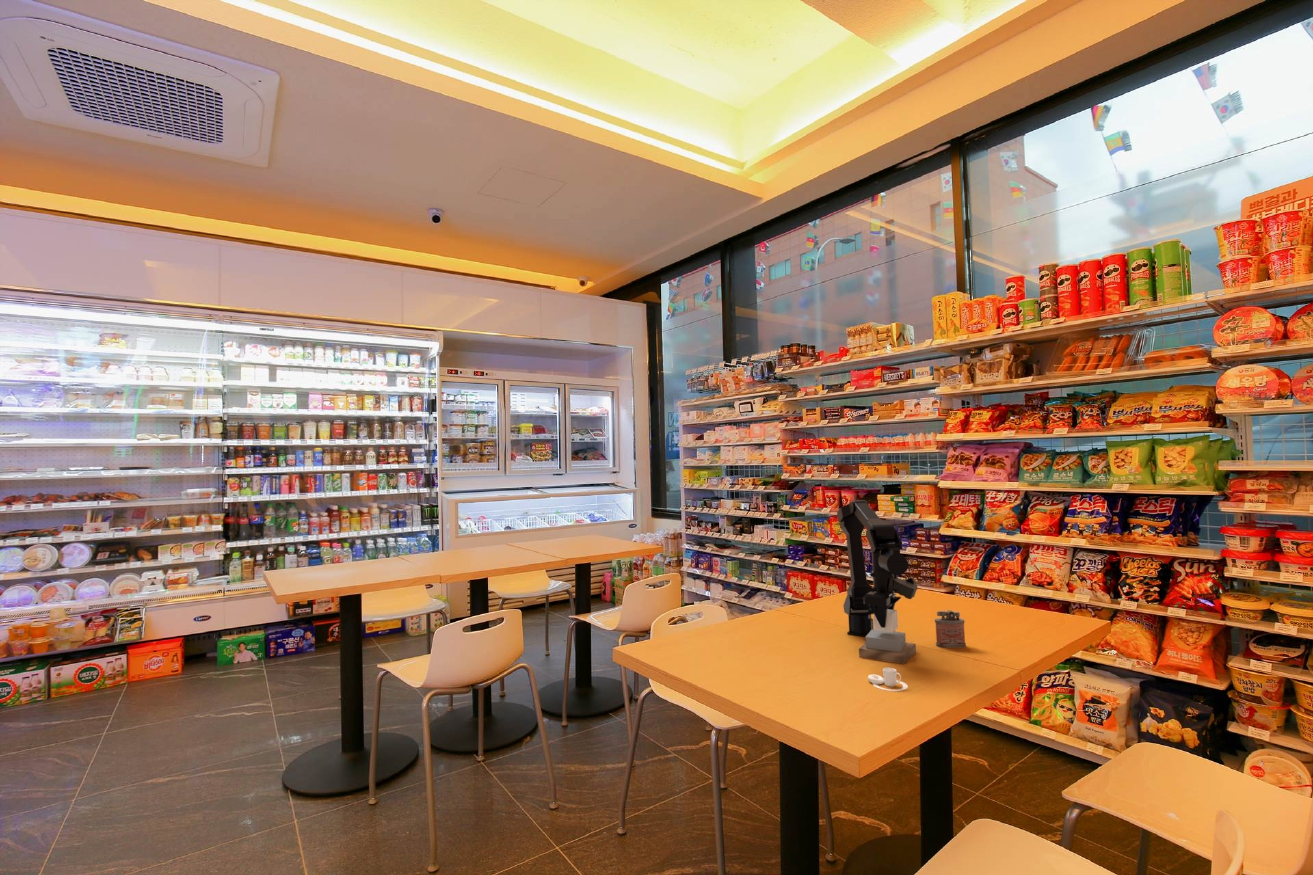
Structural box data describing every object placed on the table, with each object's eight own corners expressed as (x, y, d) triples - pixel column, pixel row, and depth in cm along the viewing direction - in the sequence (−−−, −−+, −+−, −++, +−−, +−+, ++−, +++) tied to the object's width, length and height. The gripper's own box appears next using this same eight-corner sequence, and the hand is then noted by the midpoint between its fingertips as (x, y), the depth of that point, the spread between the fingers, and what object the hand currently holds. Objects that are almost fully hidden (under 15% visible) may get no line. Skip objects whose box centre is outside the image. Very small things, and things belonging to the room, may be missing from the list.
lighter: (963, 643, 178) (961, 609, 179) (967, 647, 175) (965, 611, 175) (934, 644, 179) (932, 609, 179) (938, 647, 176) (936, 612, 176)
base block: (859, 659, 169) (858, 648, 170) (872, 648, 179) (872, 637, 179) (904, 666, 162) (904, 655, 163) (916, 654, 172) (915, 643, 172)
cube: (874, 629, 171) (873, 611, 171) (879, 625, 175) (878, 608, 175) (892, 632, 168) (892, 613, 168) (897, 628, 172) (897, 610, 172)
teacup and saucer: (863, 683, 151) (862, 666, 151) (888, 677, 154) (887, 661, 154) (889, 695, 142) (888, 677, 143) (915, 689, 146) (914, 671, 146)
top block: (865, 647, 170) (865, 636, 170) (872, 639, 177) (872, 629, 177) (900, 652, 165) (900, 640, 165) (905, 643, 173) (905, 632, 173)
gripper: (904, 576, 160) (907, 637, 159) (921, 565, 175) (924, 621, 174) (861, 573, 166) (864, 631, 166) (882, 563, 181) (884, 616, 181)
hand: (885, 625), depth 171 cm, fingers closed on cube, 5 cm apart
